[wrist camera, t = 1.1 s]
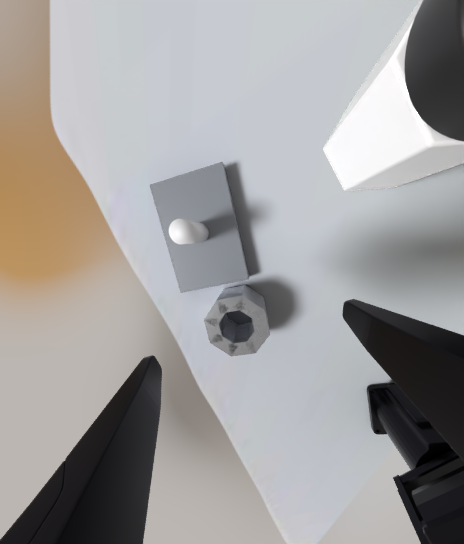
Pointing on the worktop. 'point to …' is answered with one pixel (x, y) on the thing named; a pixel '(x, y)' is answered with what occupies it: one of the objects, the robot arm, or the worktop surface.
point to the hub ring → (242, 335)
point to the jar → (406, 105)
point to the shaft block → (201, 228)
